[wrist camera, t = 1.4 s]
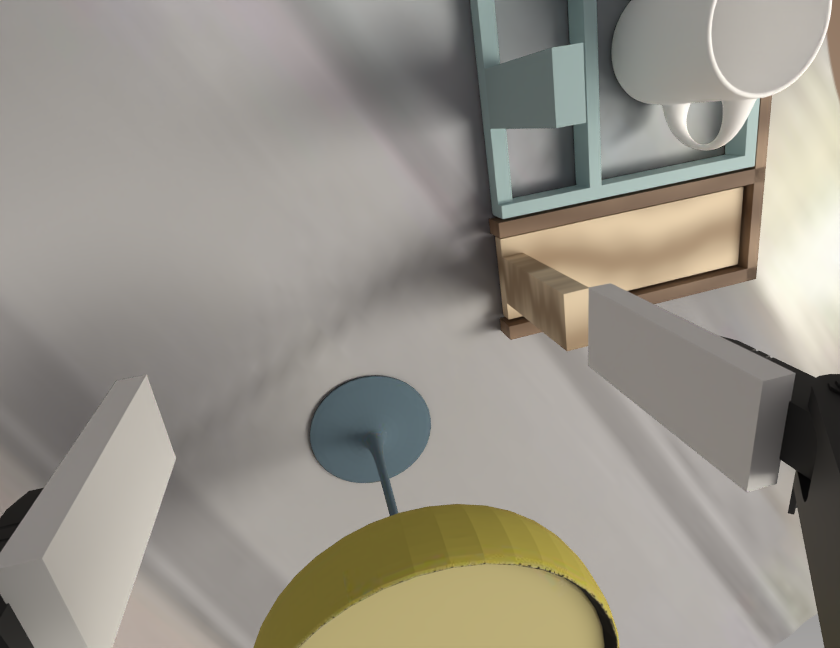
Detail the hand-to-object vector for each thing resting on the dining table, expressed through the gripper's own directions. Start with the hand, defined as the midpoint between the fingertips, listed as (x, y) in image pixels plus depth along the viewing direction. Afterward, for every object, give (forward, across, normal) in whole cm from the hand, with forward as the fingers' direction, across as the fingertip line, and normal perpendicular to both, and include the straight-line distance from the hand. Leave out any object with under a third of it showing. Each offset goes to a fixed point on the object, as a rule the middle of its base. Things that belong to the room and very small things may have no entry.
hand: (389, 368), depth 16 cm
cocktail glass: (+27, 0, -19) cm, 33 cm away
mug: (+27, +28, +8) cm, 39 cm away
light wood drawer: (+26, +24, -6) cm, 37 cm away
